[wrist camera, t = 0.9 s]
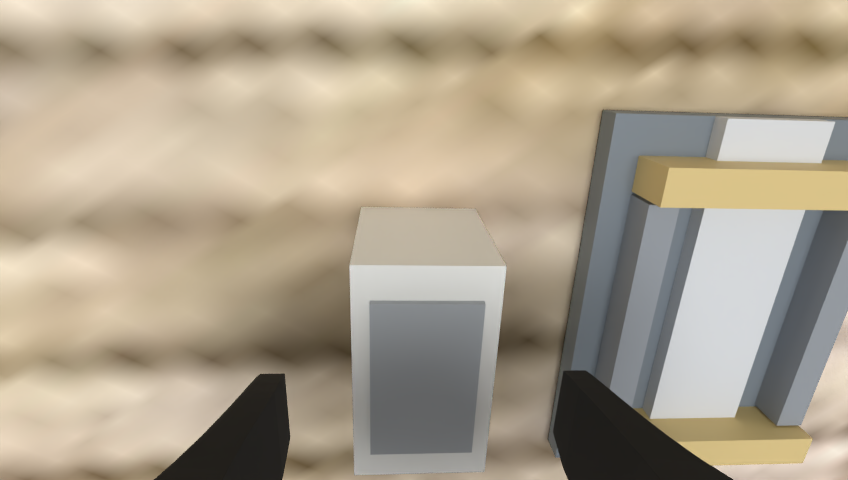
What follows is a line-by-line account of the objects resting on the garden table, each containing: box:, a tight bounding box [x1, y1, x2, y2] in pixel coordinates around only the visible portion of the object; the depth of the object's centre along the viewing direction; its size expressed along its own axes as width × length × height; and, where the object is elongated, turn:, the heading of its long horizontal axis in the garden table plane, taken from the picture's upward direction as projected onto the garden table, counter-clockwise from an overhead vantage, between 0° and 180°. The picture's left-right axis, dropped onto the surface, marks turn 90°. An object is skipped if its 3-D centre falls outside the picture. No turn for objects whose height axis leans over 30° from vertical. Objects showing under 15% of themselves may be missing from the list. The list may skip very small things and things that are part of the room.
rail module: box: [349, 207, 507, 475], centre depth 15 cm, size 7×4×5 cm, turn 178°
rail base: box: [548, 110, 848, 465], centre depth 17 cm, size 14×10×3 cm
